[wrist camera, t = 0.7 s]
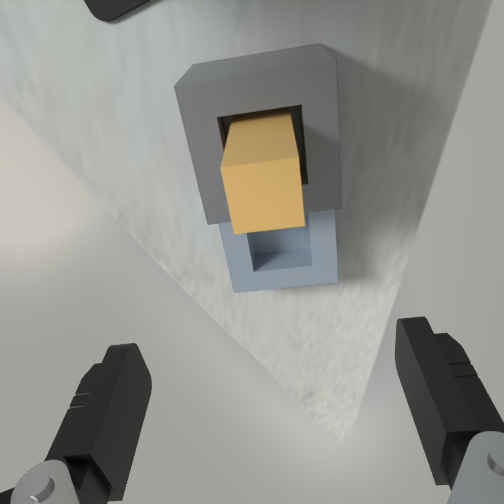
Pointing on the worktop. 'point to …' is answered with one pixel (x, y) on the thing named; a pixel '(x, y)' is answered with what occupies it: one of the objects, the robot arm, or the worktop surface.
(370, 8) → the worktop surface
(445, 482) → the robot arm
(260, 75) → the socket block
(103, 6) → the phone
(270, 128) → the plug
